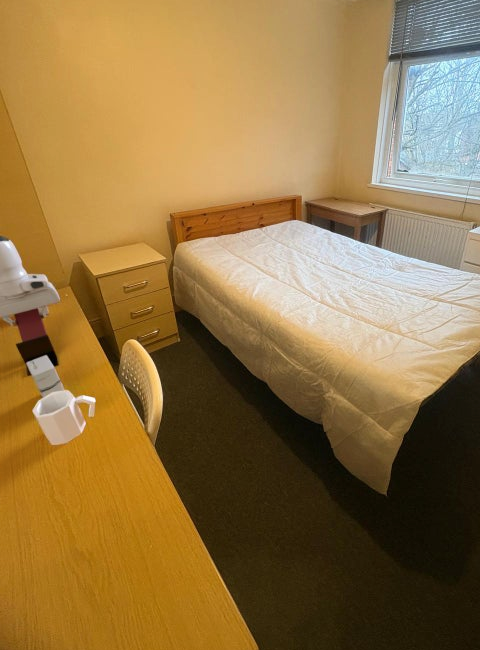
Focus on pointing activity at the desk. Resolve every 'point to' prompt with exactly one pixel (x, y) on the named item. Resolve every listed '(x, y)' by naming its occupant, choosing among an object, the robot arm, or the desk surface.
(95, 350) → the desk surface
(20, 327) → the book
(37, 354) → the bookend
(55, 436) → the mug
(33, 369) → the ink box
